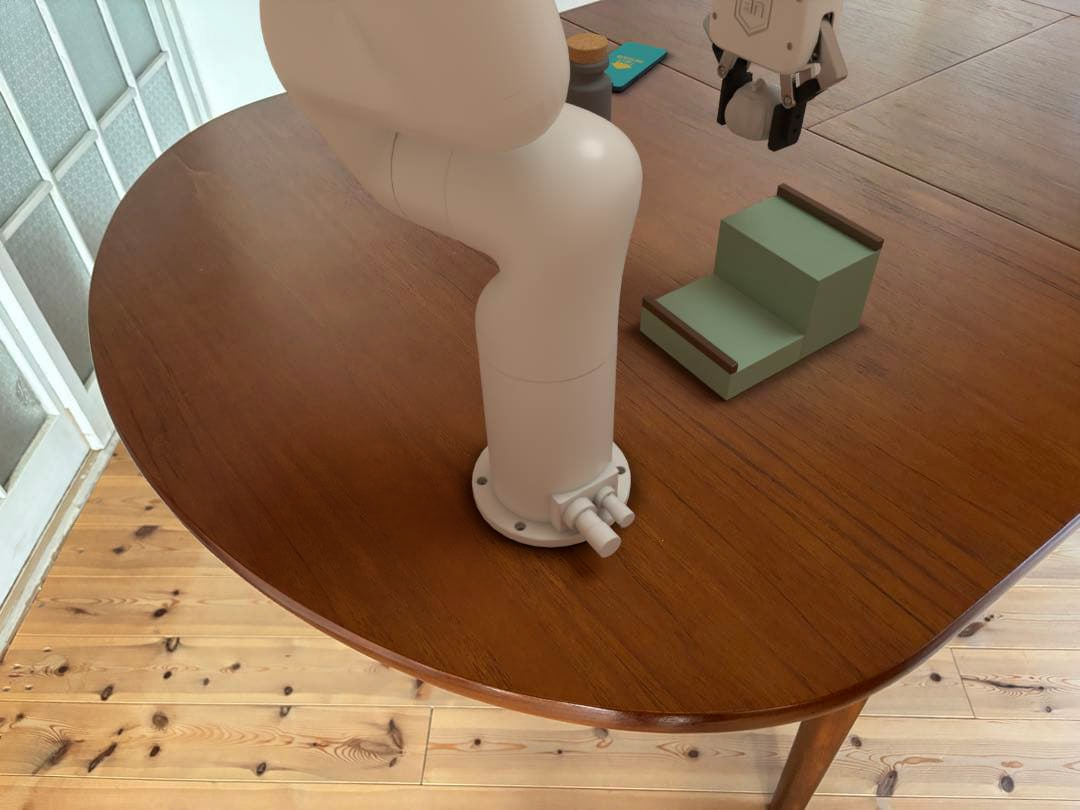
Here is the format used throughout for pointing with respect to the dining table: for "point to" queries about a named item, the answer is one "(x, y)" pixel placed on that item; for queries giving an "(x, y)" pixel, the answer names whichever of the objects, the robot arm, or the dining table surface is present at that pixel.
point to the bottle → (589, 74)
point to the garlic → (753, 109)
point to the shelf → (767, 293)
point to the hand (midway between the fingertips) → (756, 131)
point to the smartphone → (632, 63)
